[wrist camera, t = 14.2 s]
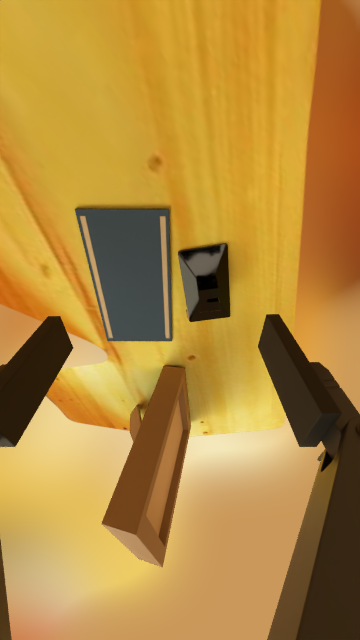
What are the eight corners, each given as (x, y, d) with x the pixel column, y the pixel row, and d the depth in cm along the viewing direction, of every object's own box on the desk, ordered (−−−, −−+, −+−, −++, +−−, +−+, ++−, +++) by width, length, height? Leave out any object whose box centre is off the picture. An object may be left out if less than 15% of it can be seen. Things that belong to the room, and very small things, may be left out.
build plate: (229, 315, 37) (235, 332, 34) (188, 320, 38) (188, 337, 34) (227, 243, 30) (233, 254, 26) (175, 251, 31) (175, 263, 27)
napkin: (76, 208, 28) (74, 209, 27) (168, 208, 28) (168, 209, 27) (108, 339, 40) (107, 341, 40) (172, 339, 40) (172, 341, 40)
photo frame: (184, 364, 44) (186, 534, 24) (190, 422, 56) (196, 567, 36) (113, 368, 45) (55, 536, 24) (135, 425, 57) (109, 567, 37)
